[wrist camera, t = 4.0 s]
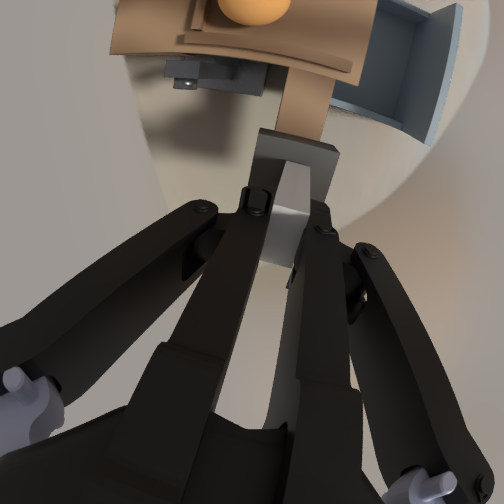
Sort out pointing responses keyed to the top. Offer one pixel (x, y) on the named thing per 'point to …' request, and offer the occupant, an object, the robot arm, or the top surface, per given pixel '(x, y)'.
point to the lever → (268, 51)
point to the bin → (405, 68)
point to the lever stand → (218, 74)
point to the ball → (254, 10)
